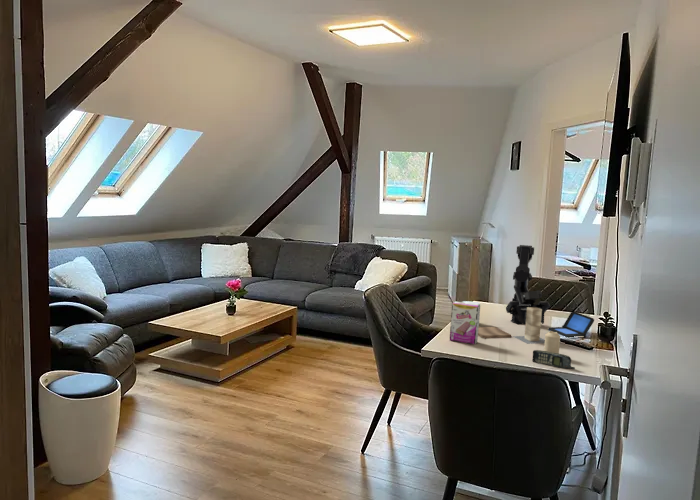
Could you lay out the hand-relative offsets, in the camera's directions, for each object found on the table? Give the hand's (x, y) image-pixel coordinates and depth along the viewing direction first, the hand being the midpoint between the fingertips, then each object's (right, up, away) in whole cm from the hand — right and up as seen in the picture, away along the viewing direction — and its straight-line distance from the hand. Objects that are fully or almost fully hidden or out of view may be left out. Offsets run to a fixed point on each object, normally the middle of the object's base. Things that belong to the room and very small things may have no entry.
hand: (533, 323), depth 233 cm
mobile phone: (-4, -11, -34) cm, 36 cm away
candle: (-1, -10, -23) cm, 25 cm away
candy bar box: (-32, -7, -6) cm, 33 cm away
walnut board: (-17, -6, +9) cm, 20 cm away
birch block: (0, -7, +1) cm, 7 cm away
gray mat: (0, -7, +1) cm, 8 cm away
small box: (-22, -4, +27) cm, 35 cm away
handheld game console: (+22, -7, +16) cm, 28 cm away
